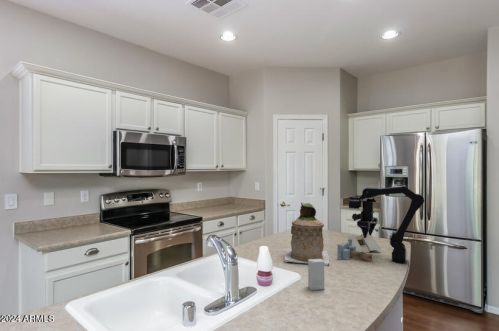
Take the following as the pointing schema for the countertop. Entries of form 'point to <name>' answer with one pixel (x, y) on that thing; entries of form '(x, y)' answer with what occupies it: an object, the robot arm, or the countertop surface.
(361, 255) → the rail
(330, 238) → the countertop surface
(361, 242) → the pale grey slotted block
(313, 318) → the countertop surface
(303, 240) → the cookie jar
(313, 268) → the skincare box
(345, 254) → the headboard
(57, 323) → the countertop surface
